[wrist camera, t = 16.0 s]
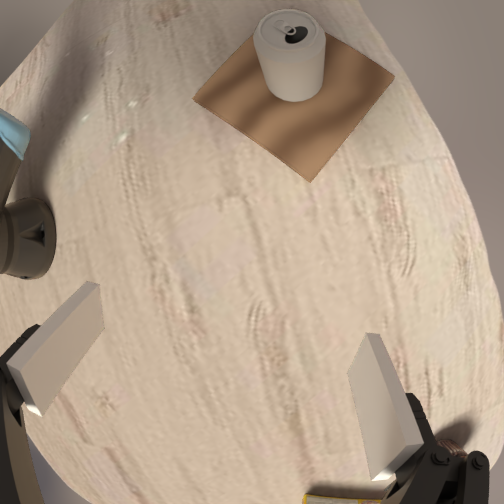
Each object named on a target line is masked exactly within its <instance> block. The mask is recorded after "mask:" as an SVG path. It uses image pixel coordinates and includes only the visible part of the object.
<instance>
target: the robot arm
mask: <svg viewBox="0 0 504 504" xmlns="http://www.w3.org/2000/svg"><path fill="white" fill-rule="evenodd" d="M30 137H31V134H30V130H29V128H28V127H27V126H26V125H25V124H23V123H22V122H21V121H19V120H18V119H16V118H15V117H14V116H12V115H11V114H9V113H7V112H6V111H4V110H3V109H1V108H0V274H7V275H11V276H14V277H18V278H21V279H25V280H31V279H37V278H40V277H42V276H43V275H44V274H45V273H46V272H47V271H48V269H49V268H50V265H51V263H52V260H53V257H54V252H55V245H56V232H55V224H54V220H53V216H52V214H51V211H50V209H49V208H48V206H47V205H46V203H45V202H43V201H42V200H40V199H37V198H23V199H21V200H19V201H15V202H12V203H9V204H6V201H7V198H8V195H9V192H10V189H11V187H12V184H13V181H14V179H15V176H16V173H17V171H18V168H19V166H20V163H21V161H23V160H24V154H25V151H26V149H27V146H28V144H29V141H30ZM5 204H6V205H5ZM103 330H104V322H103V314H102V305H101V295H100V284H96V283H93V282H89V281H87V282H86V283H85V284H83V285H82V286H81V287H80V288H79V289H78V290H77V291H76V292H75V293H74V294H73V295H72V296H71V297H70V298H69V299H68V300H67V301H65V302H64V303H63V304H62V305H61V306H60V307H59V308H58V309H57V310H56V311H55V312H54V313H53V314H52V315H51V316H50V317H49V318H48V319H47V320H46V321H45V322H44V323H43V324H42V325H41V326H40V325H38V324H36V325H34V326H32V327H30V328H28V329H27V330H26V331H25V332H24V333H23V334H22V335H21V337H19V338H18V339H17V340H16V342H14V343H13V344H12V345H11V346H10V347H9V348H8V349H7V350H6V352H5V353H4V354H3V355H2V356H1V357H0V504H44V500H43V497H42V494H41V491H40V488H39V485H38V482H37V478H36V474H35V470H34V466H33V462H32V458H31V454H30V449H29V445H28V440H27V434H26V429H25V423H24V416H23V411H22V408H21V405H22V404H23V402H25V404H26V406H27V407H28V409H29V410H30V411H32V412H34V413H35V414H37V415H39V416H41V417H43V415H44V414H45V412H46V411H47V409H48V408H49V406H50V405H51V403H52V402H53V400H54V399H55V397H56V396H57V394H58V393H59V391H60V390H61V388H62V387H63V385H64V384H65V382H66V381H67V379H68V378H69V377H70V375H71V374H72V372H73V371H74V369H75V368H76V367H77V365H78V364H79V362H80V361H81V360H82V358H83V357H84V355H85V354H86V353H87V351H88V350H89V349H90V347H91V346H92V344H93V343H94V342H95V340H96V339H97V338H98V336H99V335H100V334H101V332H102V331H103ZM347 374H348V378H349V382H350V386H351V390H352V394H353V399H354V403H355V407H356V411H357V415H358V420H359V424H360V429H361V433H362V438H363V442H364V447H365V452H366V457H367V462H368V467H369V472H370V477H371V481H375V480H384V479H388V478H389V477H390V476H392V475H393V474H394V473H395V474H396V478H397V479H396V480H395V481H393V482H392V483H391V484H390V485H389V486H388V487H387V488H386V489H385V490H384V491H387V490H388V489H389V490H388V491H387V493H386V495H385V496H384V498H383V499H382V501H381V502H380V504H488V497H489V460H488V458H487V456H486V455H485V454H484V453H482V452H480V451H473V452H471V453H469V454H468V455H467V456H466V457H465V458H464V457H456V456H451V454H450V453H449V451H448V450H447V449H445V448H444V447H442V446H439V445H437V443H436V441H435V438H434V435H433V433H432V430H431V428H430V425H429V423H428V420H427V419H426V415H425V413H424V412H423V408H422V406H421V403H420V401H419V400H418V399H417V398H416V397H415V395H414V394H413V393H405V392H404V389H403V387H402V384H401V382H400V380H399V377H398V375H397V373H396V370H395V368H394V366H393V363H392V361H391V359H390V356H389V354H388V352H387V350H386V347H385V345H384V343H383V341H382V338H381V336H380V334H374V333H366V334H365V336H364V338H363V340H362V343H361V345H360V347H359V349H358V351H357V354H356V356H355V358H354V360H353V362H352V364H351V366H350V368H349V370H348V372H347Z"/></svg>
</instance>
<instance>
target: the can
mask: <svg viewBox="0 0 504 504" xmlns="http://www.w3.org/2000/svg"><path fill="white" fill-rule="evenodd" d="M253 40H254V46H255V49H256V52H257V55H258V59H259V62H260V65H261V68H262V71H263V75H264V78H265V81H266V84H267V86H268V88H269V90H270V91H271V92H272V93H273V94H274V95H275V96H276V97H278V98H280V99H282V100H286V101H291V102H297V101H304V100H307V99H310V98H312V97H313V96H314V95H316V94H317V93H318V92H319V90H320V88H321V87H322V83H323V75H324V61H325V44H326V37H325V33H324V30H323V29H322V27H321V26H320V25H319V23H318V22H317V21H316V20H315V18H314V17H312V16H311V15H309V14H308V13H306V12H303V11H300V10H296V9H280V10H276V11H273V12H271V13H269V14H267V15H266V16H264V17H263V18H262V19H261V21H260V22H259V24H258V27H257V28H256V30H255V32H254V35H253Z"/></svg>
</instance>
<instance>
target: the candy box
mask: <svg viewBox="0 0 504 504" xmlns="http://www.w3.org/2000/svg"><path fill="white" fill-rule="evenodd" d="M381 501H382V500H368V499H347V498H334V497H323V496H315V495H308V494H305V495H304V497H303V501H302V504H380V502H381Z"/></svg>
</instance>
